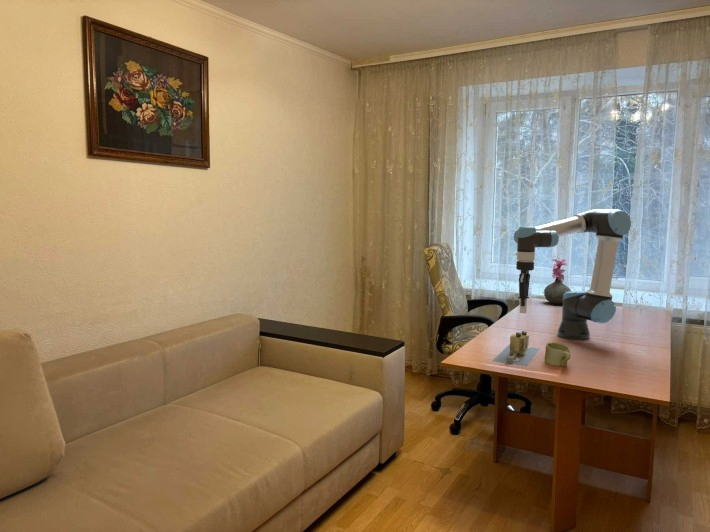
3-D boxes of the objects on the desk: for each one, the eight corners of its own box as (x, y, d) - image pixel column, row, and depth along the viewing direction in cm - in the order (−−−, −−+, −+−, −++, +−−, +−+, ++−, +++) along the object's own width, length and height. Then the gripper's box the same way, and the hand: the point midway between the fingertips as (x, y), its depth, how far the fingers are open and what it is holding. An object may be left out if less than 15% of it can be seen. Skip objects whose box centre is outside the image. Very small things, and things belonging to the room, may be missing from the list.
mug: (536, 356, 225) (546, 336, 222) (557, 362, 226) (567, 343, 223) (546, 370, 213) (557, 349, 210) (569, 377, 215) (580, 356, 212)
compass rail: (528, 347, 243) (529, 331, 242) (514, 364, 218) (514, 346, 217) (519, 346, 245) (520, 330, 244) (504, 362, 220) (505, 345, 219)
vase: (546, 305, 344) (548, 260, 340) (541, 301, 361) (543, 257, 357) (573, 306, 341) (575, 261, 337) (567, 301, 358) (569, 258, 354)
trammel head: (525, 352, 233) (526, 332, 232) (523, 355, 229) (524, 335, 228) (512, 351, 236) (512, 331, 234) (509, 353, 232) (510, 333, 231)
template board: (540, 349, 242) (540, 347, 242) (526, 367, 215) (526, 365, 215) (509, 345, 249) (509, 343, 248) (492, 362, 222) (492, 360, 222)
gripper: (520, 259, 242) (517, 309, 244) (513, 261, 230) (511, 314, 233) (536, 260, 238) (534, 311, 241) (531, 262, 227) (528, 316, 230)
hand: (522, 312), depth 237 cm, fingers closed
